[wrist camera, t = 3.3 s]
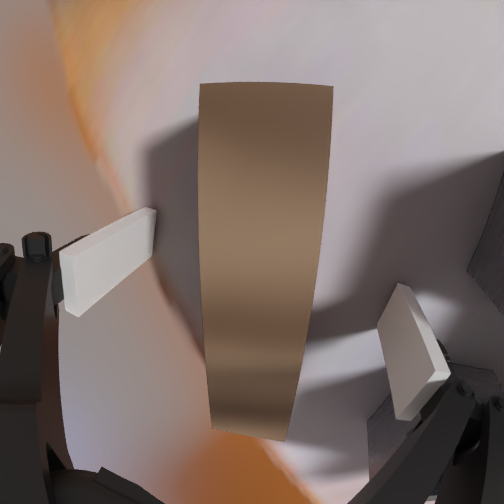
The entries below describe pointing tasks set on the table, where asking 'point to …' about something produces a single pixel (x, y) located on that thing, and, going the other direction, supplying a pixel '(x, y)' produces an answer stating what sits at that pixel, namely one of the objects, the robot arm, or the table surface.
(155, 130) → the table surface
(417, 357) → the robot arm
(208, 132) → the rail
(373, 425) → the brackets
